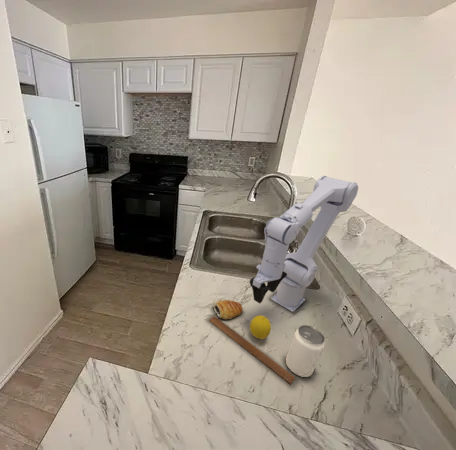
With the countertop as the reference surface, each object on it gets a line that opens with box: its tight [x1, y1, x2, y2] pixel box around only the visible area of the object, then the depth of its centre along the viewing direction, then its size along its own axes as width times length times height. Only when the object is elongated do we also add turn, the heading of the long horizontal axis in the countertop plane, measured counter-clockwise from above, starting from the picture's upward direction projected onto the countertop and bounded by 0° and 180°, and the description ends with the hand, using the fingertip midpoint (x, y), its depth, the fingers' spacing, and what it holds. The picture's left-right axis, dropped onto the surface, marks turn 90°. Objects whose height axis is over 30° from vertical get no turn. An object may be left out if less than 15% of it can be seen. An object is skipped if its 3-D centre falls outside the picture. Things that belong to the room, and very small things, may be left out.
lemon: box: [249, 314, 272, 340], centre depth 74 cm, size 6×6×8 cm
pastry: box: [212, 299, 243, 320], centre depth 84 cm, size 9×7×4 cm
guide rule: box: [208, 316, 296, 386], centre depth 72 cm, size 2×26×1 cm, turn 39°
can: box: [285, 324, 326, 378], centre depth 65 cm, size 6×6×12 cm
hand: (264, 295), depth 78 cm, fingers open, 7 cm apart
